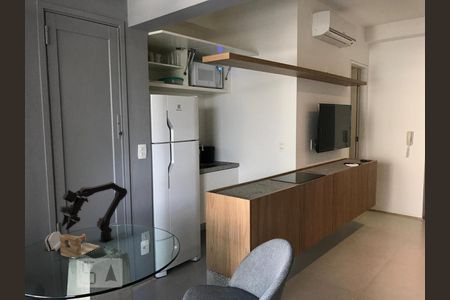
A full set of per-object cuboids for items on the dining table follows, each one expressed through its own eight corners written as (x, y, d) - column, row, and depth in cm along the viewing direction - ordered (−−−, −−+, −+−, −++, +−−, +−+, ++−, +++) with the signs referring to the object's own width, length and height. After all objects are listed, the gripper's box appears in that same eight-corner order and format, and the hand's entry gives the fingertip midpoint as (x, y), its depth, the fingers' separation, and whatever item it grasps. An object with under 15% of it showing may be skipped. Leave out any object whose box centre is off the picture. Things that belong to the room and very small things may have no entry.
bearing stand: (85, 244, 224) (83, 226, 223) (99, 248, 218) (98, 229, 216) (61, 255, 209) (59, 235, 207) (76, 259, 202) (74, 239, 201)
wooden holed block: (81, 240, 216) (80, 232, 216) (86, 241, 214) (86, 234, 213) (66, 246, 207) (65, 238, 206) (71, 248, 204) (71, 240, 204)
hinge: (56, 250, 216) (49, 237, 214) (49, 253, 216) (42, 239, 214) (66, 240, 232) (60, 228, 231) (59, 243, 232) (53, 230, 231)
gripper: (61, 197, 219) (48, 219, 215) (70, 203, 205) (56, 227, 201) (77, 204, 226) (64, 225, 222) (86, 210, 212) (72, 233, 208)
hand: (64, 227), depth 213 cm, fingers open, 9 cm apart
